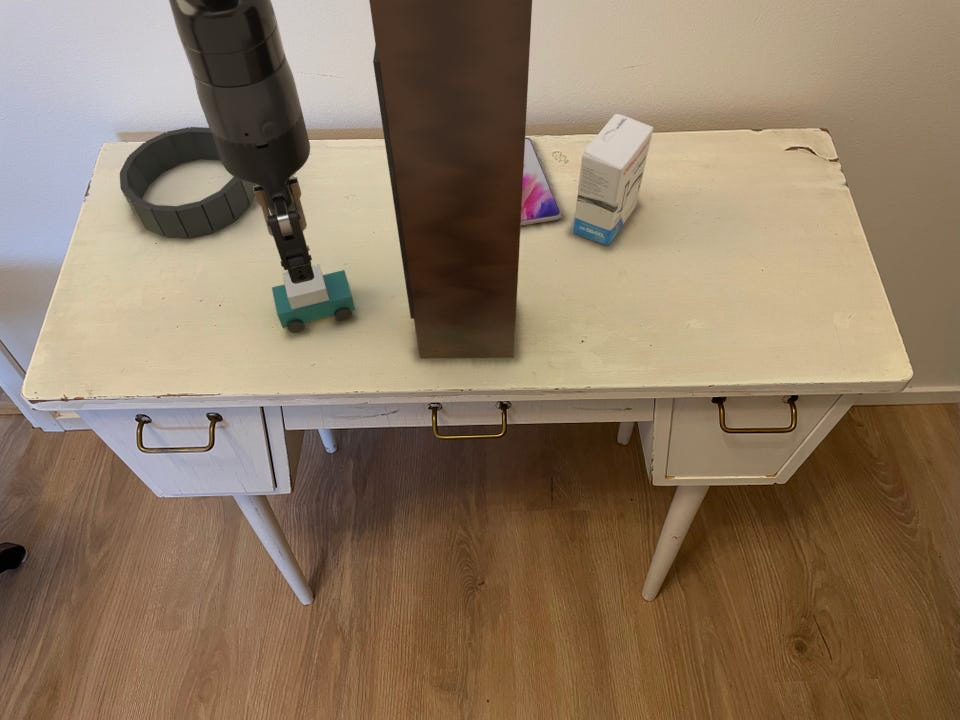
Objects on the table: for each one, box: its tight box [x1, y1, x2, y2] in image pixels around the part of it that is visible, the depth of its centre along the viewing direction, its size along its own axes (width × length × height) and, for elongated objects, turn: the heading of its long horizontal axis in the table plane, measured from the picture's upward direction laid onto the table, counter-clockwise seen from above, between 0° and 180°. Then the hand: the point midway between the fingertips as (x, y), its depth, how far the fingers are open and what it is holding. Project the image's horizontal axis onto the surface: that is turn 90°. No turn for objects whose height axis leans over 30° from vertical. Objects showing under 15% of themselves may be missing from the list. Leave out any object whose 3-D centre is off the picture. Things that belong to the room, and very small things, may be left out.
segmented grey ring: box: [119, 126, 257, 239], centre depth 89 cm, size 15×15×4 cm
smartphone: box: [521, 136, 562, 226], centre depth 91 cm, size 7×1×15 cm
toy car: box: [271, 263, 356, 334], centre depth 78 cm, size 8×5×5 cm, turn 108°
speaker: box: [368, 0, 533, 359], centre depth 62 cm, size 10×7×40 cm
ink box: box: [572, 113, 654, 247], centre depth 83 cm, size 9×5×12 cm, turn 148°
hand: (295, 248), depth 72 cm, fingers open, 8 cm apart
